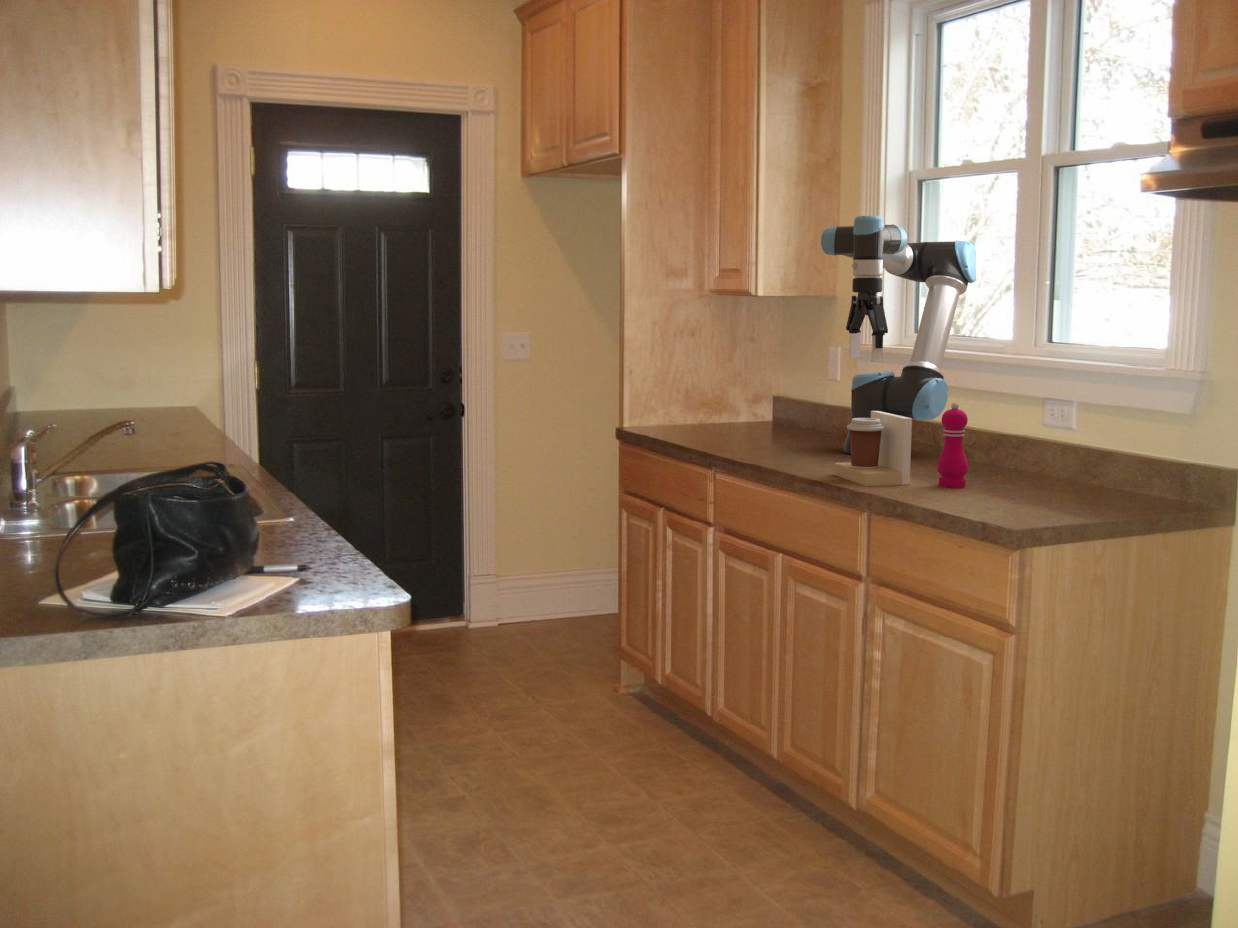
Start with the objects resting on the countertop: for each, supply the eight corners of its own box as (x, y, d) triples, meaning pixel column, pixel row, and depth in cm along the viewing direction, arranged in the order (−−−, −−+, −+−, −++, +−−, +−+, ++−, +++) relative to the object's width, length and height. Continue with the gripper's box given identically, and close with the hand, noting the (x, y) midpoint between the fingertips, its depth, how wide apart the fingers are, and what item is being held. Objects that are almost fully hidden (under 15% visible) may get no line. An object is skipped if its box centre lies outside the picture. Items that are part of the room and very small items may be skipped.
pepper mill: (951, 489, 290) (954, 404, 287) (930, 484, 296) (932, 401, 293) (974, 486, 293) (977, 403, 290) (953, 482, 299) (956, 400, 296)
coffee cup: (842, 469, 301) (843, 420, 299) (849, 464, 309) (850, 416, 308) (880, 471, 298) (881, 421, 296) (886, 466, 306) (887, 418, 304)
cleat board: (876, 473, 315) (878, 410, 312) (909, 484, 296) (911, 418, 294) (834, 474, 312) (835, 411, 310) (865, 486, 294) (867, 419, 292)
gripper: (834, 277, 327) (833, 357, 330) (874, 277, 303) (872, 363, 306) (860, 277, 329) (859, 356, 332) (902, 276, 305) (900, 362, 308)
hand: (865, 360), depth 319 cm, fingers open, 13 cm apart
